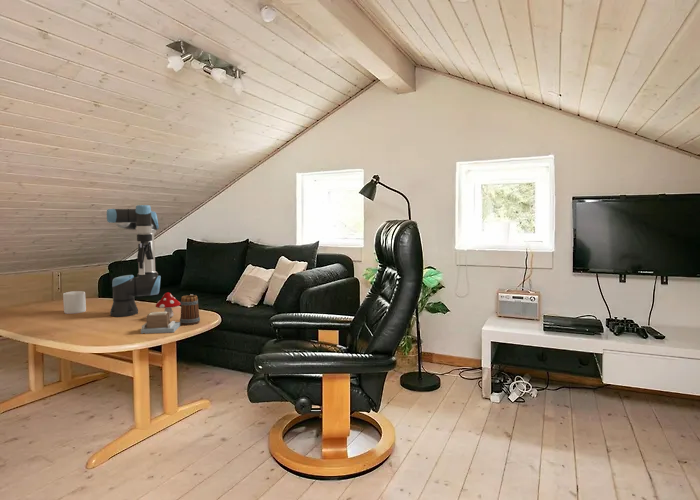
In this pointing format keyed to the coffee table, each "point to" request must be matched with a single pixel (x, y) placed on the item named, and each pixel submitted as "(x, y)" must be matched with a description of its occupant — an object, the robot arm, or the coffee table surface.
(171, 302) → the decorative mushroom
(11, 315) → the coffee table surface
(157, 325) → the brown box
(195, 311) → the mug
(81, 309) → the cup
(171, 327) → the grey serving tray
